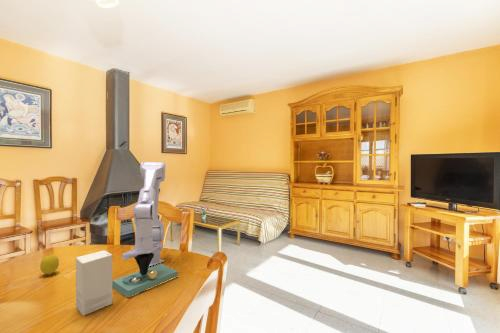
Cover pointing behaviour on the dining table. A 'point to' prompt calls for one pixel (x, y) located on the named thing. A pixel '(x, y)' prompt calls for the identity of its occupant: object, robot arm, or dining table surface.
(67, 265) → the dining table surface
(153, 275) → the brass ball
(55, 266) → the lemon
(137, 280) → the steel ball
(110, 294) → the skincare box
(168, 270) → the bearing plate
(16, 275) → the dining table surface
